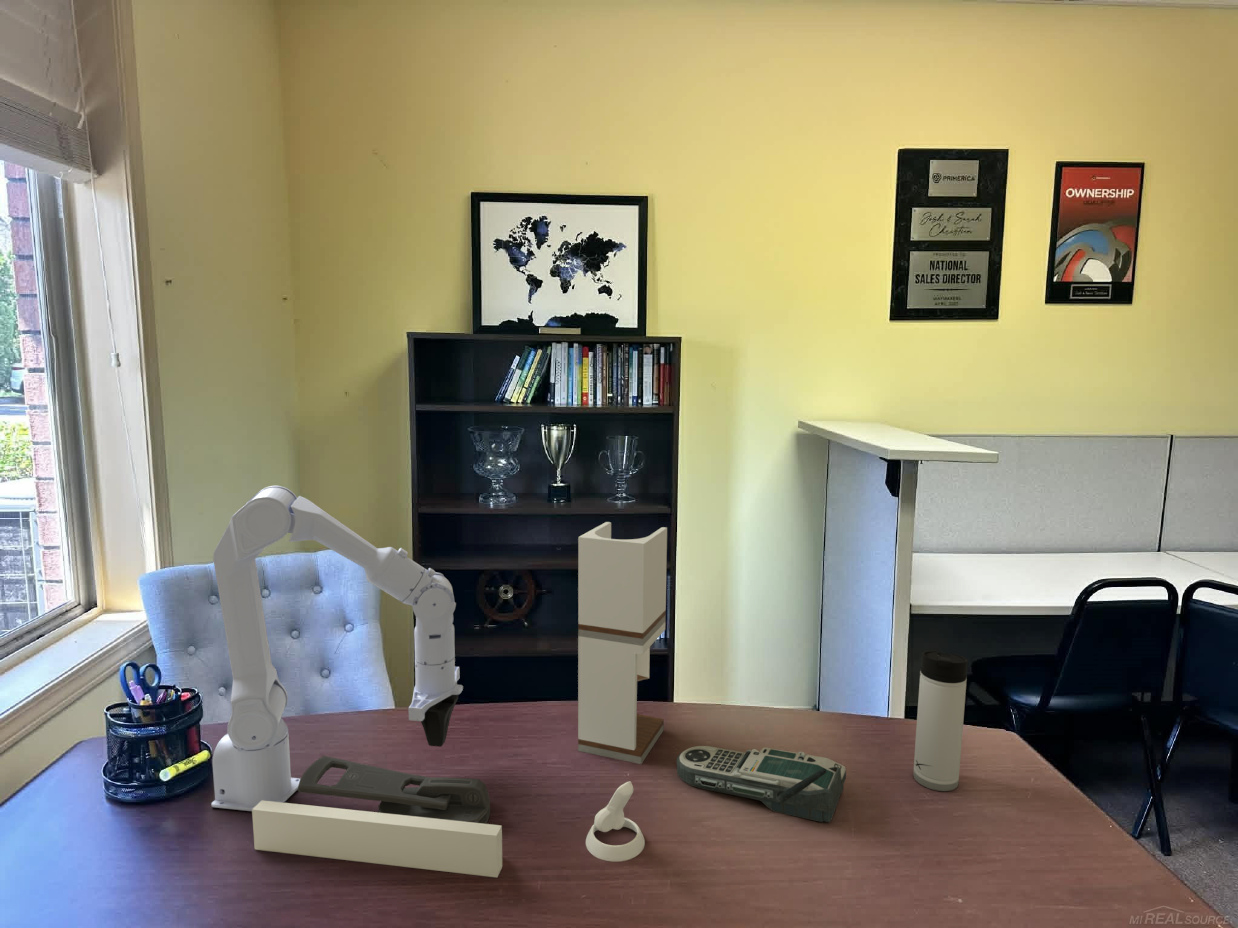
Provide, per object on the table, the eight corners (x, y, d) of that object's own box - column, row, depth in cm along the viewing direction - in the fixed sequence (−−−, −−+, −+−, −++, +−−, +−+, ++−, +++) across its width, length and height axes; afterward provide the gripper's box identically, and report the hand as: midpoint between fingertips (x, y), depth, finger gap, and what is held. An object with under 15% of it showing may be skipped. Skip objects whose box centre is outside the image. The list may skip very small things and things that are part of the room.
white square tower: (641, 763, 117) (644, 543, 112) (578, 750, 121) (578, 537, 116) (663, 730, 128) (667, 527, 123) (605, 719, 131) (606, 521, 126)
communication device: (694, 751, 122) (695, 699, 121) (846, 789, 111) (848, 732, 110) (664, 789, 111) (665, 732, 110) (829, 834, 100) (832, 772, 99)
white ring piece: (633, 852, 88) (595, 803, 91) (605, 888, 96) (570, 842, 99) (675, 813, 93) (637, 768, 96) (645, 850, 101) (611, 807, 104)
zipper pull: (319, 751, 107) (494, 756, 106) (321, 795, 108) (495, 800, 107) (290, 787, 98) (480, 792, 98) (292, 834, 99) (481, 839, 99)
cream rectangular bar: (254, 849, 96) (252, 809, 95) (273, 829, 100) (271, 791, 99) (497, 877, 91) (496, 835, 91) (507, 855, 95) (506, 815, 95)
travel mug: (912, 787, 111) (921, 658, 108) (913, 765, 117) (922, 642, 114) (959, 797, 109) (969, 665, 106) (957, 773, 115) (967, 648, 112)
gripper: (441, 680, 104) (443, 772, 106) (477, 641, 118) (478, 723, 120) (393, 676, 105) (396, 767, 107) (434, 638, 119) (436, 719, 121)
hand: (436, 743), depth 114 cm, fingers closed
